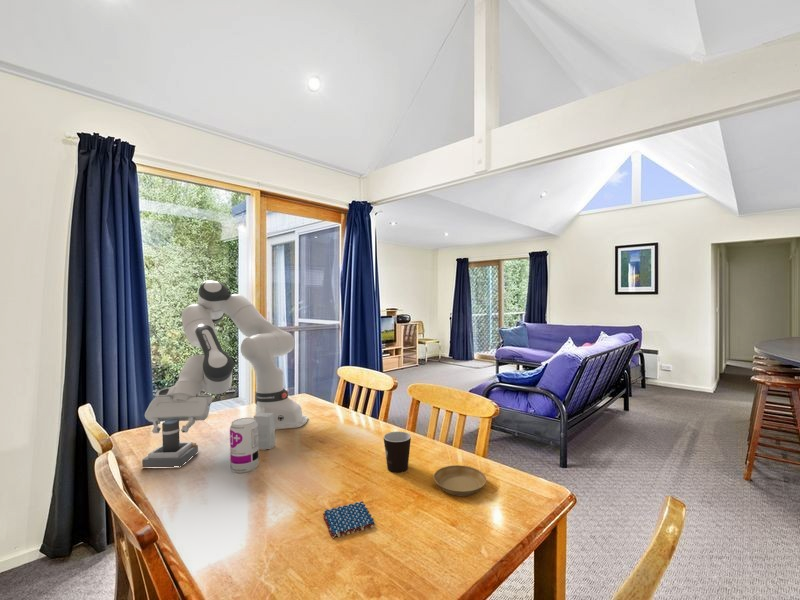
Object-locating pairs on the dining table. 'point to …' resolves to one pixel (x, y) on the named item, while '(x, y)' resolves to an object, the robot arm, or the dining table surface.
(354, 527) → the woven mat
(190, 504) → the dining table surface
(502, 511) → the dining table surface
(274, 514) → the dining table surface
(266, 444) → the skincare box
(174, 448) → the lens
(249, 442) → the supplement can
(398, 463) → the coffee mug
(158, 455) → the dock
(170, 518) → the dining table surface
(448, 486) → the plant saucer
